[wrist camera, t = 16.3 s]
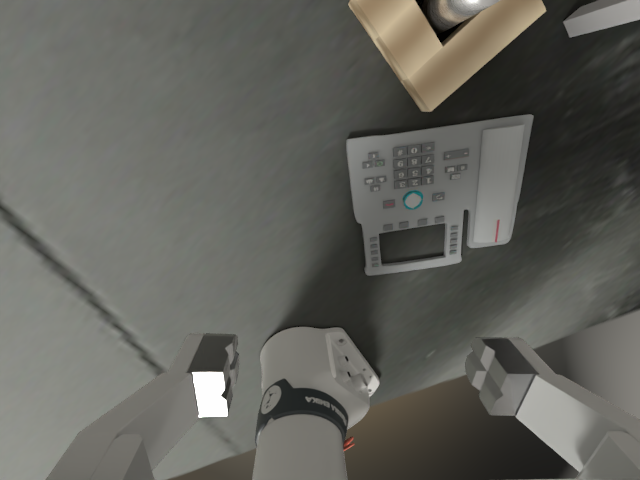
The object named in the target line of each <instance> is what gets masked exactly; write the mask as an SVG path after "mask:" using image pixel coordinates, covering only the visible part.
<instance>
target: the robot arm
mask: <svg viewBox="0 0 640 480" xmlns="http://www.w3.org/2000/svg"><path fill="white" fill-rule="evenodd" d="M340 339H342V340H340ZM237 345H238V339H237V335H236V334H210V333H206V334H201V333H190V334H189V335H188V336H187V337H186V339H185V340H184V342H183V344H182V346H181V348H180V350H179V352H178V354H177V356H176V358H175V359H174V361H173V363H172V365H171V367H170V369H169V371H168V373H162V374H160V375H159V376H158V377H156V378H155V379H153V380H152V381H151V382H149V383H148V384H146V385H145V386H144V387H142V388H141V389H139V390H138V391H137V392H135V393H134V394H132V395H131V396H130V397H128V398H127V399H125V400H124V401H123V402H121V403H120V404H118V405H117V406H115V407H114V408H113V409H111V410H110V411H108V412H107V413H106V414H104V415H103V416H101V417H100V418H99V419H97V420H96V421H94V422H93V423H92V424H90V425H89V426H87V427H86V428H85V429H83V430H82V431H80V432H79V433H78V435H77V436H76V437H75V439H74V440H73V442H72V443H71V444H70V446H69V447H68V449H67V450H66V452H65V453H64V454H63V456H62V457H61V459H60V460H59V461H58V463H57V464H56V466H55V467H54V469H53V470H52V471H51V473H50V474H49V476H48V477H47V479H46V480H154V476H153V473H152V470H153V469H154V468H155V467H156V466H157V465H158V464H159V463H160V461H161V460H162V459H163V458H164V457H165V456H166V455H167V454H168V453H169V451H170V450H171V449H172V448H173V447H174V446H175V445H176V444H177V442H178V441H179V440H180V439H181V438H182V437H183V436H184V435H185V434H186V432H187V431H188V430H189V429H190V428H191V427H192V426H193V425H194V424H195V422H196V421H197V420H198V419H199V417H207V416H228V412H229V408H230V404H231V401H232V397H233V394H232V387H233V386H234V385H235V384H236V381H237V377H238V370H239V354H238V353H237V352H236V349H237ZM471 348H472V350H473V352H471V353H470V354H469V355H468V356H467V359H466V362H465V368H466V374H467V377H468V379H469V381H470V382H471V384H472V385H473V386H474V387H476V388H477V389H479V390H480V392H479V398H480V399H481V401H482V403H483V404H484V406H485V408H486V409H487V411H488V413H489V414H490V415H508V416H509V415H510V416H516V418H517V419H518V420H520V421H521V422H522V423H523V424H524V425H525V426H527V427H528V428H529V429H530V430H531V431H532V432H533V433H535V434H536V435H537V436H538V437H539V438H541V439H542V440H543V441H544V442H545V443H546V444H547V445H549V446H550V447H551V448H552V449H553V450H555V451H556V452H557V453H558V454H559V455H560V456H562V457H563V458H564V459H565V460H566V461H567V462H568V463H569V464H571V465H572V466H573V467H574V468H575V469H576V470H578V471H579V472H580V473H579V474H578V476H577V477H576V479H532V480H640V419H638V418H636V417H635V416H633V415H631V414H629V413H627V412H625V411H624V410H622V409H620V408H619V407H617V406H615V405H613V404H611V403H609V402H608V401H606V400H604V399H603V398H601V397H599V396H597V395H595V394H594V393H592V392H590V391H588V390H586V389H585V388H583V387H581V386H579V385H578V384H576V383H574V382H572V381H571V380H569V379H567V378H565V377H563V376H562V375H556V374H555V373H554V372H553V371H552V370H551V369H550V368H549V367H548V366H547V365H546V363H545V362H544V361H543V360H542V359H541V358H540V357H539V356H538V355H537V354H536V353H535V352H534V351H533V350H532V349H531V347H530V346H529V345H528V344H527V343H526V342H525V341H524V340H523V339H521V338H519V337H504V338H490V337H476V338H475V339H474V340H473V341H472V344H471ZM260 362H261V368H262V402H261V405H260V409H259V413H258V420H257V427H256V436H255V443H256V447H257V451H256V458H255V465H254V471H253V478H252V480H347V474H346V467H345V459H344V451H345V450H346V449H348V448H350V447H351V446H353V445H354V443H352V444H349V443H350V442H351V441H352V440H353V437H350V438H349V439H347V440H345V437H346V433H347V429H349V428H350V427H351V426H353V425H354V424H356V423H357V422H359V421H360V420H361V419H362V418H363V417H364V416H365V415H366V413H367V411H368V409H369V406H370V399H369V397H370V396H371V395H372V394H373V393H374V392H375V391H376V389H377V387H378V386H379V378H378V376H377V374H376V373H375V372H374V370H373V369H372V368H371V366H370V365H369V363H368V362H367V361H366V359H365V358H364V357H363V355H362V354H361V352H360V351H359V350H358V348H357V347H356V346H355V344H354V343H353V342H352V340H351V339H350V337H349V336H348V335H347V333H346V332H345V331H344V330H343V329H342V328H339V327H334V328H327V329H318V328H312V327H294V328H289V329H286V330H283V331H281V332H279V333H277V334H275V335H274V336H272V337H271V338H270V339H269V340H268V341H267V342H266V343H265V345H264V346H263V348H262V351H261V355H260ZM348 444H349V445H348ZM529 480H531V479H529Z"/></svg>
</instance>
